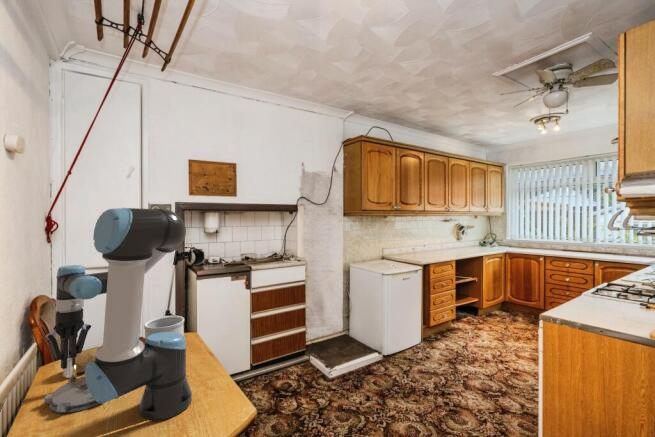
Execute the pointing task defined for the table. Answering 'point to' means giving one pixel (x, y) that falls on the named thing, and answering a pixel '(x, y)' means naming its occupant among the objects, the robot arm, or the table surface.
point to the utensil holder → (165, 325)
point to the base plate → (74, 408)
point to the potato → (85, 359)
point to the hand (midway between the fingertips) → (67, 376)
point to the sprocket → (71, 394)
